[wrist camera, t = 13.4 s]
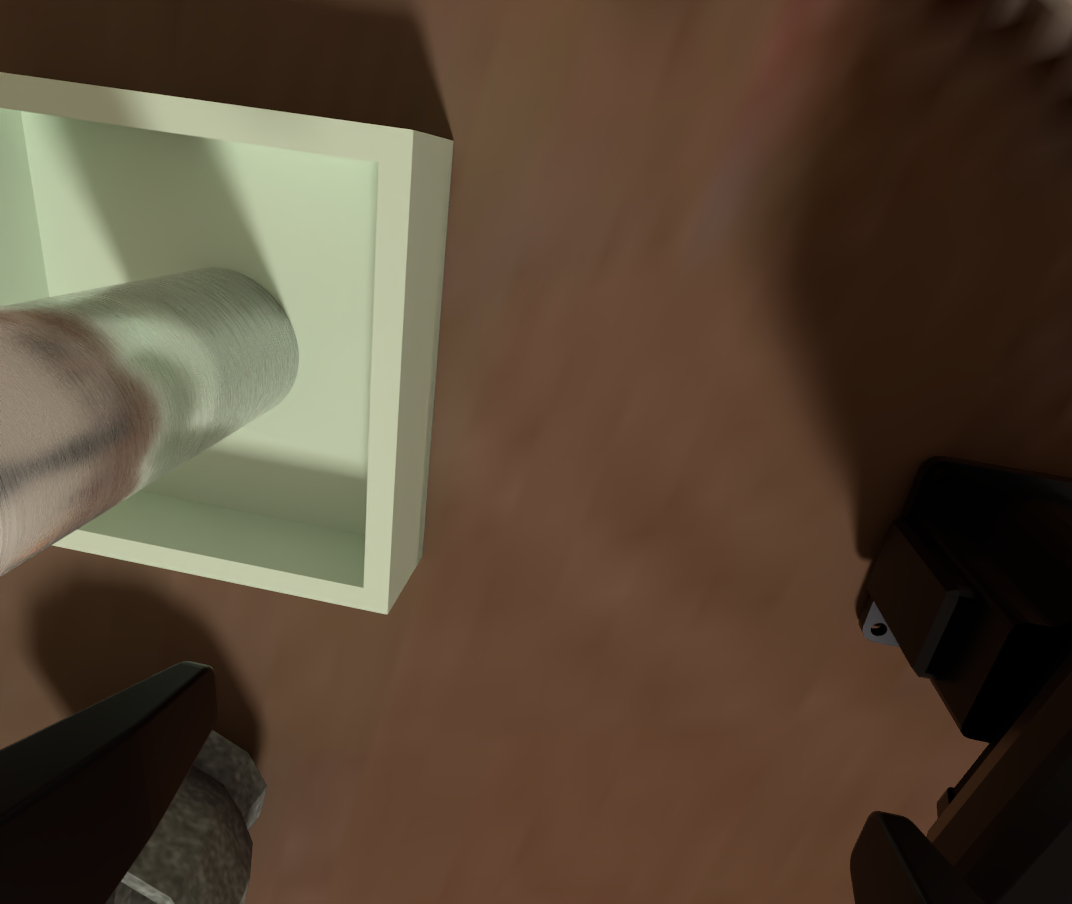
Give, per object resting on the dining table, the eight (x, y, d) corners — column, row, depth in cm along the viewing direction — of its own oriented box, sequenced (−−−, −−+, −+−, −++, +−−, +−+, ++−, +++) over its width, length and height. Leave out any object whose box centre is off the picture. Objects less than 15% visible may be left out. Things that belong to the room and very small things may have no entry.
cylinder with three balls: (265, 251, 20) (-312, 352, 8) (320, 401, 21) (-84, 681, 9) (130, 286, 21) (-566, 425, 9) (193, 428, 22) (-319, 710, 10)
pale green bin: (453, 140, 18) (413, 129, 15) (422, 556, 23) (387, 614, 20) (8, 78, 19) (-117, 55, 16) (73, 487, 25) (-12, 531, 21)
